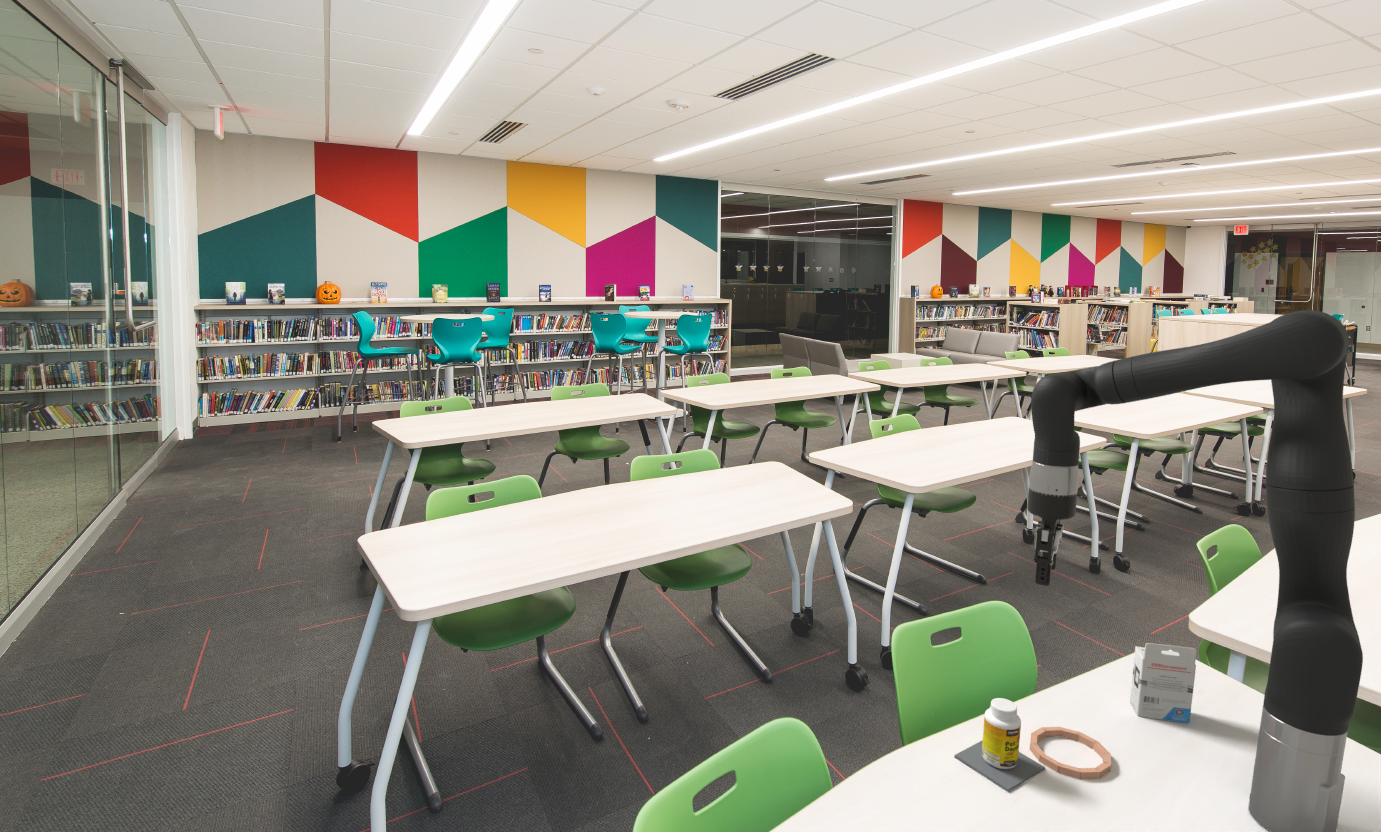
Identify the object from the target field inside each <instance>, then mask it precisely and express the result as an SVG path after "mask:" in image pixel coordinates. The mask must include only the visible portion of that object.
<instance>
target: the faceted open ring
mask: <svg viewBox="0 0 1381 832" xmlns="http://www.w3.org/2000/svg"><path fill="white" fill-rule="evenodd" d="M1047 737H1049V738H1051V737H1055V738H1056V737H1061V738H1065V739H1068V740H1069V739H1070V740H1073V741H1076V742H1079V743H1081V744H1083V745H1085V746H1087V747H1089V748H1090V749H1093V751H1095V752H1096V754H1097V755H1098V756H1099V757H1100V758H1101V759H1102V763H1101V764H1099V765H1097V766H1096V767H1076V766H1072V765H1069V764H1065V763H1061V762H1059V761H1058V760H1056V759H1054V758H1052V757H1051V756H1049V755H1047V754H1046V753H1045V752H1044V751H1043V750H1042V749H1041V748H1040V746H1039V745H1038V742H1039V741H1040V740H1043V739H1044V738H1047ZM1029 742H1030V743H1029V750H1030V752H1031V753H1032V755H1033V756H1034V757H1035V758H1036V759H1037V762H1038V763H1040V764H1041V765H1042V764H1043V766H1046V767H1048V769H1051V770H1052V771H1054V772H1056V773H1058V774H1062V775H1064V776H1068V777H1072V778H1076V779H1078V780H1089V779H1090V780H1094V779H1098V780H1099V779H1102V778H1103V777H1104V776H1106V775H1107V774H1109V773H1111V771H1112V769H1111V768H1112V757H1111V753H1110V752H1109V750H1108V749H1106V747H1105V746H1104V745H1102V744H1101V742H1099V741H1098V740H1096V739H1095V738H1092V737H1091V736H1089V735H1087V734H1085V733H1083V732H1082V731H1081V732H1080V731H1078V730H1073V729H1071V728H1066V727H1061V726H1043V727H1039V728H1038V729H1036V730H1033V732H1031V734H1030V741H1029Z"/></svg>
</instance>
